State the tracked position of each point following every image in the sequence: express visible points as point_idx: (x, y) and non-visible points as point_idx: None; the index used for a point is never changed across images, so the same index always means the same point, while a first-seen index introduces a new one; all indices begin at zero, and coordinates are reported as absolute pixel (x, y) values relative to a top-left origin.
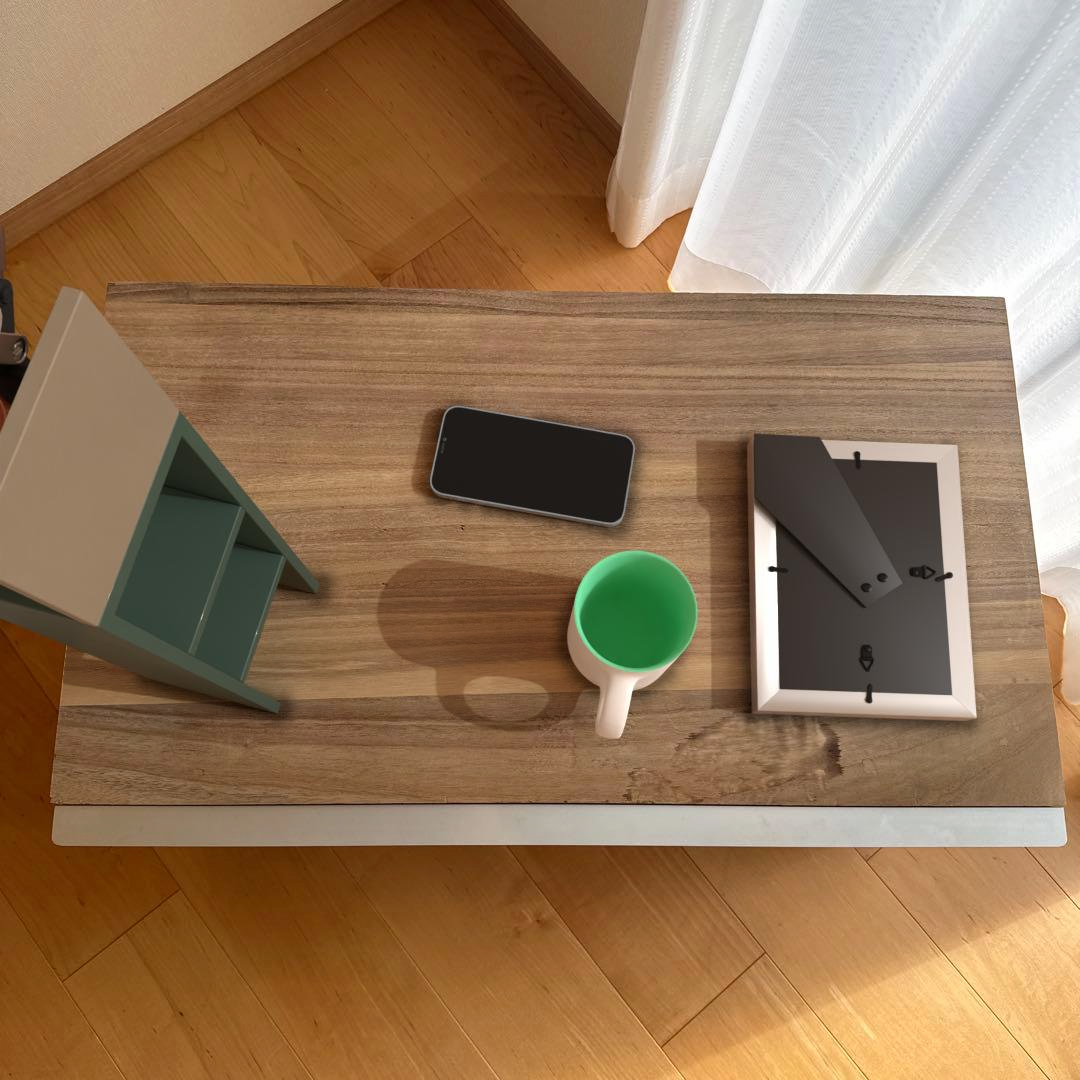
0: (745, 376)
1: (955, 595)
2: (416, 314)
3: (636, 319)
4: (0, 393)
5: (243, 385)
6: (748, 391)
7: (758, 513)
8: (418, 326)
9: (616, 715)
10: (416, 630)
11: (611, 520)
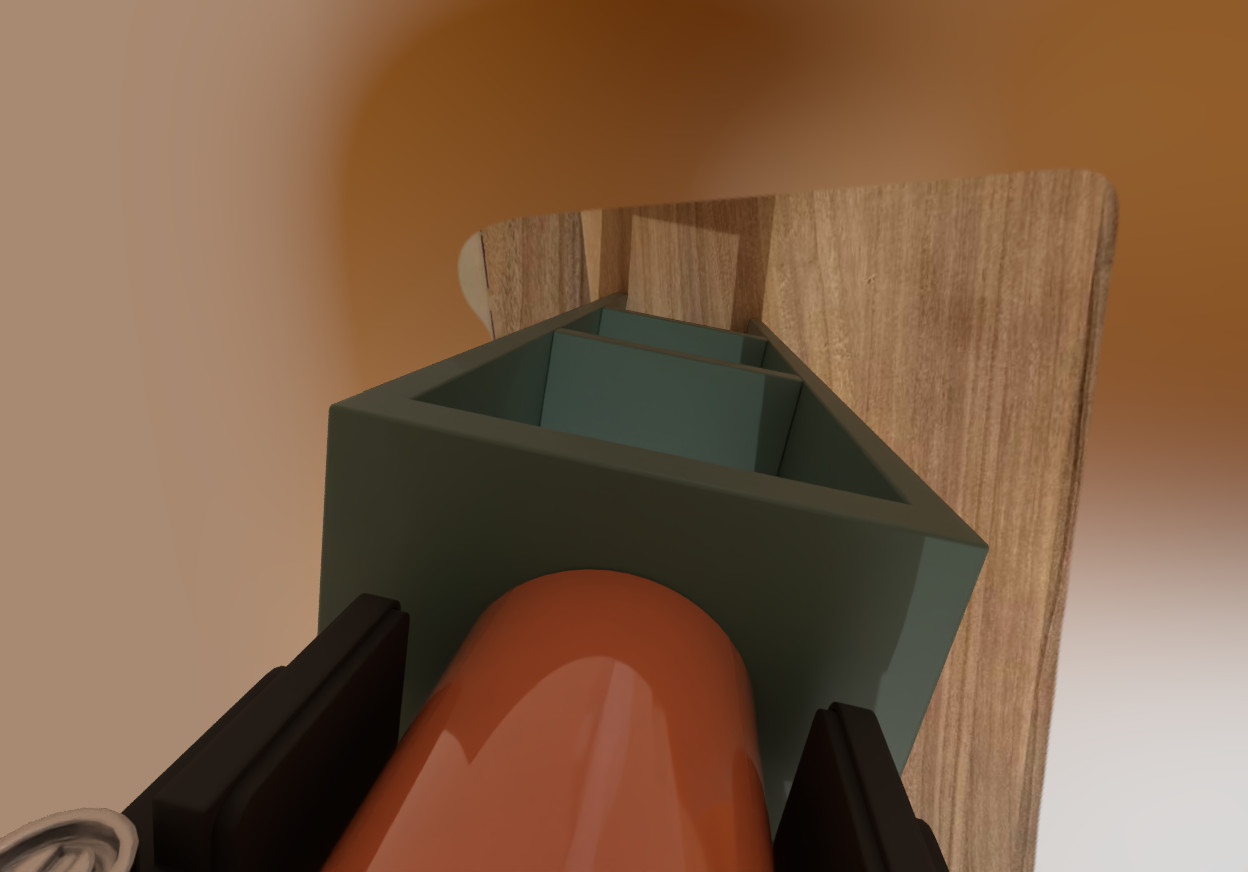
0: (952, 833)
1: None
2: (1052, 535)
3: (1026, 747)
4: (819, 843)
5: (970, 349)
6: (936, 834)
7: None
8: (1036, 538)
9: None
10: None
11: None
